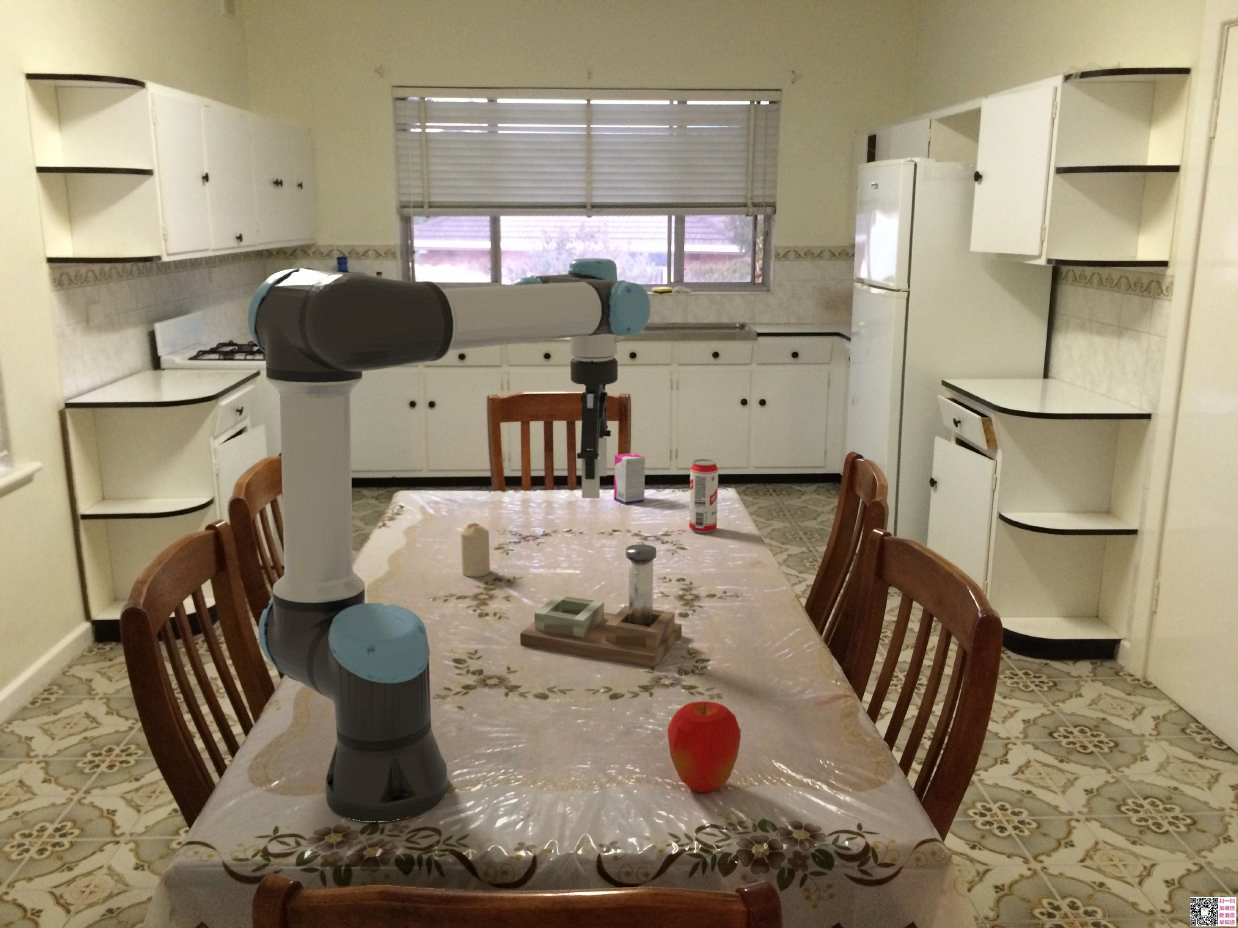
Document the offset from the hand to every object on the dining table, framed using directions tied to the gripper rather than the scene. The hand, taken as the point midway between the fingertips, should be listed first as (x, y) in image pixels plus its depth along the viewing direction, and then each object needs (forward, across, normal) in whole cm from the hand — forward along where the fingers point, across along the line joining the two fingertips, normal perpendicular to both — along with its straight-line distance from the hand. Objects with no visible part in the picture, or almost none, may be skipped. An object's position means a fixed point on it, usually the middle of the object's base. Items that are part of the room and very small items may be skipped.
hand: (594, 486), depth 174 cm
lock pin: (+25, -2, -8) cm, 27 cm away
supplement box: (+28, +87, 0) cm, 91 cm away
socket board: (+27, +1, -1) cm, 27 cm away
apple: (+27, -44, -18) cm, 55 cm away
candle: (+28, +32, +27) cm, 50 cm away
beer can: (+28, +64, -18) cm, 72 cm away
